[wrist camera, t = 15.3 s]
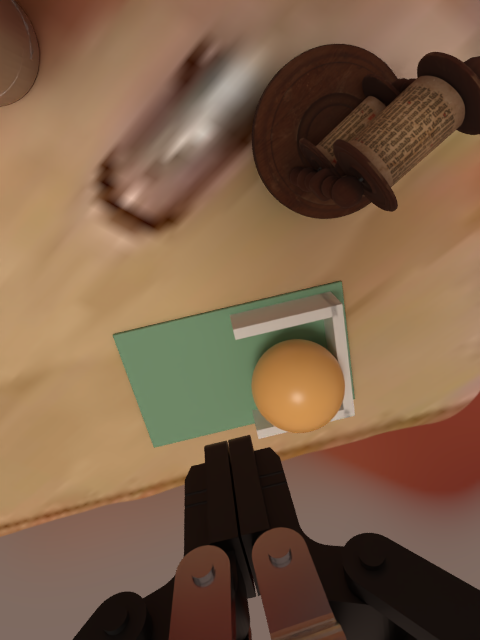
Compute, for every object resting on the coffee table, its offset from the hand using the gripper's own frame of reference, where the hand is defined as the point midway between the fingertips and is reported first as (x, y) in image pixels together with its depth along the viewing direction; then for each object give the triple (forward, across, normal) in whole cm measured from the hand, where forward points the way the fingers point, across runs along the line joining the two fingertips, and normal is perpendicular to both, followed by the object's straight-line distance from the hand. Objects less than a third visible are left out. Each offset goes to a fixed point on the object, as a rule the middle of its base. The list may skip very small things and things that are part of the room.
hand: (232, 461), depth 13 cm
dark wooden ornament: (+33, -14, -7) cm, 37 cm away
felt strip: (+33, -1, +16) cm, 37 cm away
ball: (+28, -6, +16) cm, 33 cm away
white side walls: (+33, -7, +16) cm, 37 cm away
